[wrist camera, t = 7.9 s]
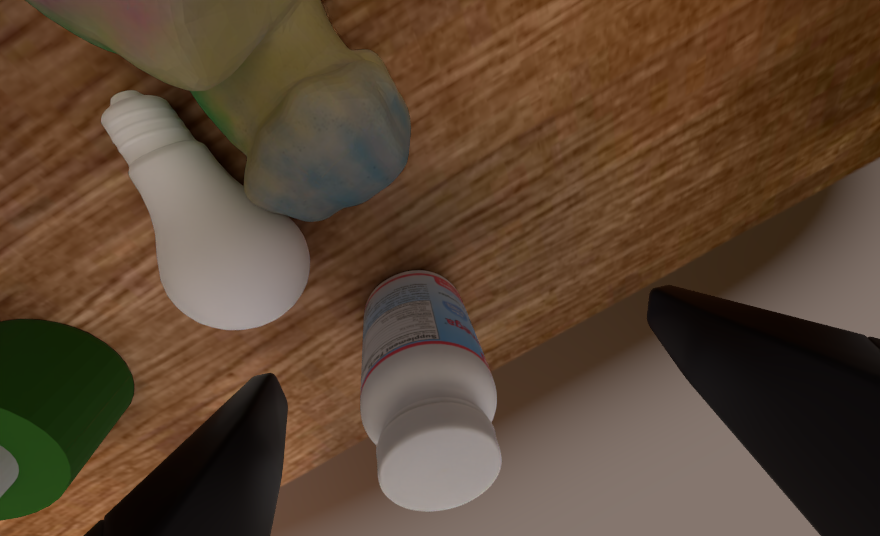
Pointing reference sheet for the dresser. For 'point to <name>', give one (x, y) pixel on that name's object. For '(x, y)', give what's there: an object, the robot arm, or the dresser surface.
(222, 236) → the lightbulb
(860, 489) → the robot arm
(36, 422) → the candle
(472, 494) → the pill bottle
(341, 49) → the sculpture
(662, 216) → the dresser surface
